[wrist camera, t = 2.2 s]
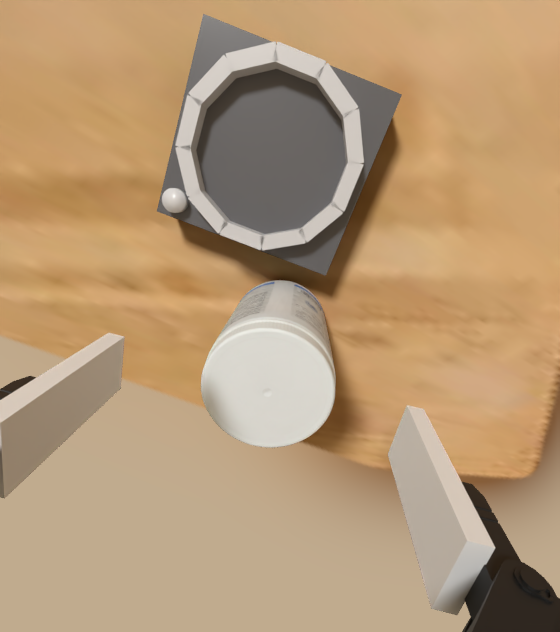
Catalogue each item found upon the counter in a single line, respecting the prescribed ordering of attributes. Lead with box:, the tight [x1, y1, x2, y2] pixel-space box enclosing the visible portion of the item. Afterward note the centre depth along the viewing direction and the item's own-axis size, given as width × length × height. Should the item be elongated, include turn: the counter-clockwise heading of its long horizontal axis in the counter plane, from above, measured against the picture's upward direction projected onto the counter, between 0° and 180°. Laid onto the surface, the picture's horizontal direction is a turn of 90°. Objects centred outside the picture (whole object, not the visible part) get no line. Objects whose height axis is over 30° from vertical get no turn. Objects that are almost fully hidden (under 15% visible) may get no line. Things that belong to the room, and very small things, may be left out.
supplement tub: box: [201, 280, 336, 447], centre depth 31 cm, size 10×10×15 cm
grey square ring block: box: [157, 14, 401, 276], centre depth 30 cm, size 16×15×6 cm
